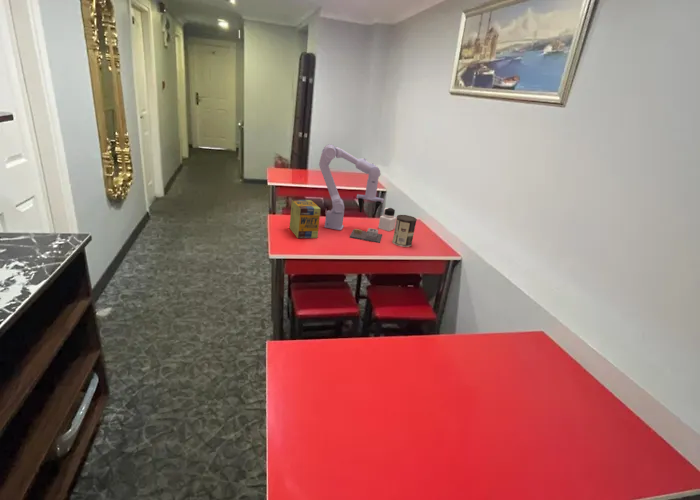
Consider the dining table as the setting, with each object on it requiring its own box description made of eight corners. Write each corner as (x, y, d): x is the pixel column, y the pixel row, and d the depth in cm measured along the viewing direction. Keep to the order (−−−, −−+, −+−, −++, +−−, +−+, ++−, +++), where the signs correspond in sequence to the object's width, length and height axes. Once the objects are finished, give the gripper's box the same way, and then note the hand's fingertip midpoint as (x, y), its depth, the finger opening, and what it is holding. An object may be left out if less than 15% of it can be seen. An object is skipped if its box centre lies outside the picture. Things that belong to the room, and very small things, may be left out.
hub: (366, 237, 199) (367, 230, 198) (367, 234, 204) (368, 227, 203) (376, 238, 198) (377, 232, 197) (377, 235, 203) (378, 229, 202)
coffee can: (408, 240, 206) (413, 215, 200) (414, 247, 196) (419, 221, 191) (389, 239, 204) (394, 213, 198) (395, 246, 194) (400, 220, 189)
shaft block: (349, 237, 198) (350, 231, 196) (353, 230, 209) (354, 224, 207) (379, 243, 196) (381, 236, 194) (382, 235, 207) (383, 229, 205)
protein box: (297, 238, 186) (300, 208, 180) (289, 228, 199) (291, 199, 193) (317, 238, 191) (321, 208, 185) (308, 227, 203) (311, 199, 198)
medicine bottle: (394, 229, 221) (398, 209, 216) (388, 231, 215) (392, 211, 211) (383, 225, 224) (387, 206, 220) (377, 228, 218) (381, 208, 214)
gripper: (357, 187, 200) (353, 212, 205) (384, 192, 198) (380, 217, 203) (359, 185, 207) (355, 209, 212) (385, 189, 205) (381, 214, 210)
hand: (367, 213), depth 208 cm, fingers open, 7 cm apart
